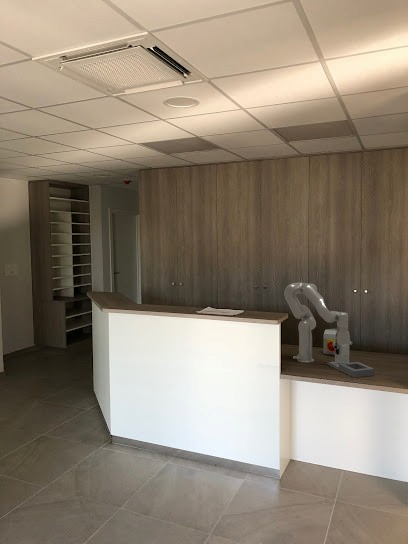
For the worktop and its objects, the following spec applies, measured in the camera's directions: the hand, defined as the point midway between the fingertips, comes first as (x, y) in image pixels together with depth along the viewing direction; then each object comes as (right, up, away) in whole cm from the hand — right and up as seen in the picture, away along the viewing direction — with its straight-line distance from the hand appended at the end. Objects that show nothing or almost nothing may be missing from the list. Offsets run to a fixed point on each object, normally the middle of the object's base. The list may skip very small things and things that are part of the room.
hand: (342, 353), depth 327 cm
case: (+3, -10, -8) cm, 13 cm away
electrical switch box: (+3, -7, +34) cm, 34 cm away
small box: (0, -6, 0) cm, 6 cm away
